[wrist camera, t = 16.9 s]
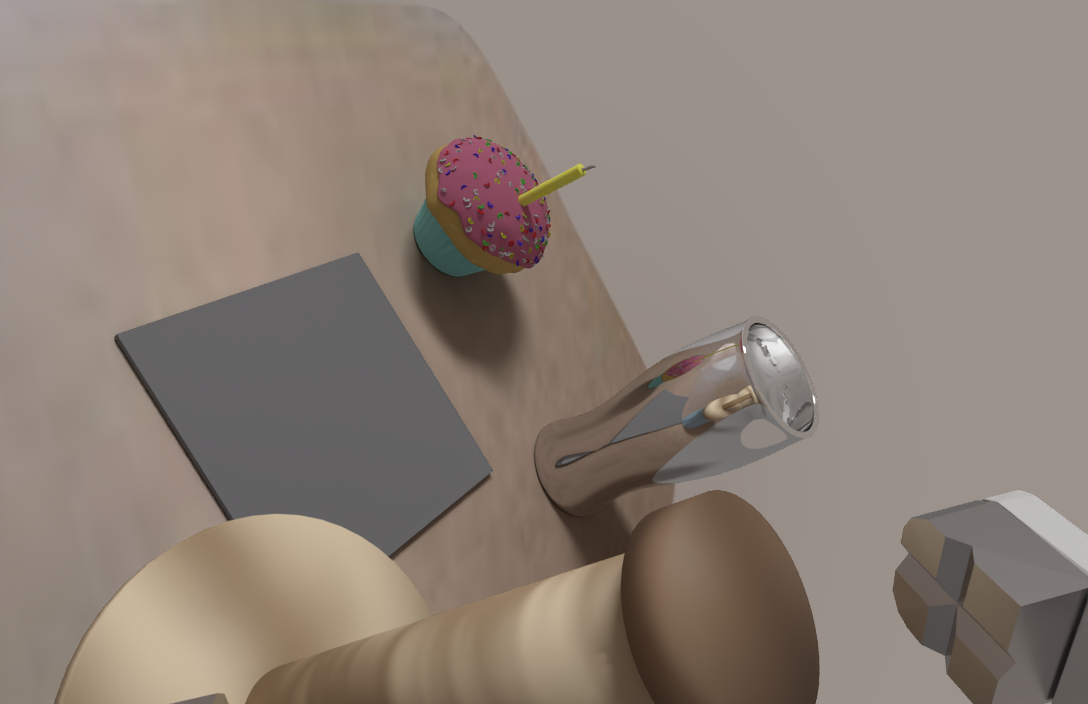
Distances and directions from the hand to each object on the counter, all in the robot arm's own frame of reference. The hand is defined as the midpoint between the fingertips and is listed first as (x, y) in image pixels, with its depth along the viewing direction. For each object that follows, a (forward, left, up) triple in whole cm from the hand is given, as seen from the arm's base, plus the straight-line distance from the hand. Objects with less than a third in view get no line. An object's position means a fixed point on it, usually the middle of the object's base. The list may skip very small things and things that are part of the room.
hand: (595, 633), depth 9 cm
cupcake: (+31, +11, -25) cm, 41 cm away
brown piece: (+5, -3, -19) cm, 20 cm away
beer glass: (+30, -5, -25) cm, 39 cm away
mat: (+17, +5, -24) cm, 30 cm away
